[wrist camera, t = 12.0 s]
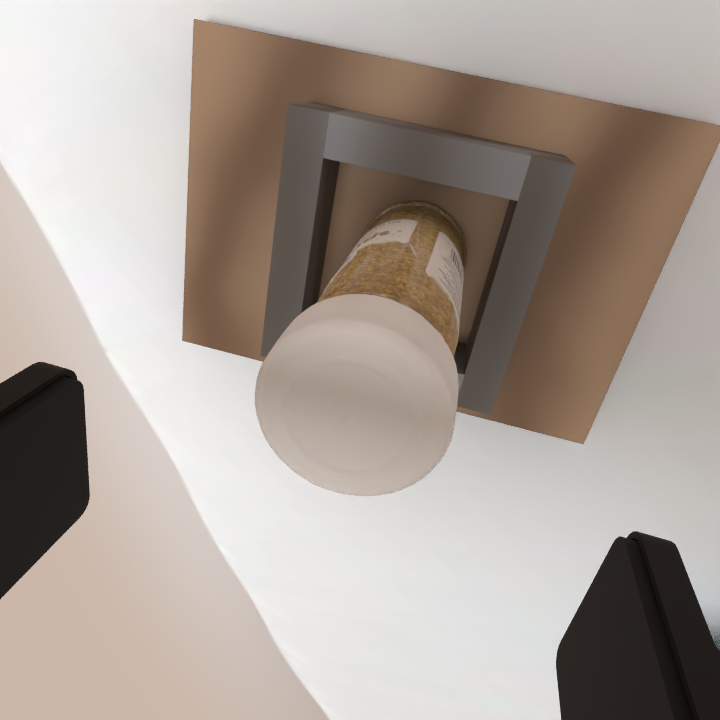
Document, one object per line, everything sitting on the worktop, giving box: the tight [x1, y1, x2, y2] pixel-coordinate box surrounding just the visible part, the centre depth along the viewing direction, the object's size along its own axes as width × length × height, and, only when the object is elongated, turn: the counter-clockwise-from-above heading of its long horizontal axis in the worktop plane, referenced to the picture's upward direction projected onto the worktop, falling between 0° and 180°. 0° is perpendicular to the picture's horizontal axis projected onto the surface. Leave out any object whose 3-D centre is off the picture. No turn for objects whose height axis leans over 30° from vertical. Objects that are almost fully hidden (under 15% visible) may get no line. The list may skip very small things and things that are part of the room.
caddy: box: [182, 19, 720, 444], centre depth 23 cm, size 20×14×4 cm
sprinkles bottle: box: [255, 201, 467, 496], centre depth 18 cm, size 5×5×13 cm
